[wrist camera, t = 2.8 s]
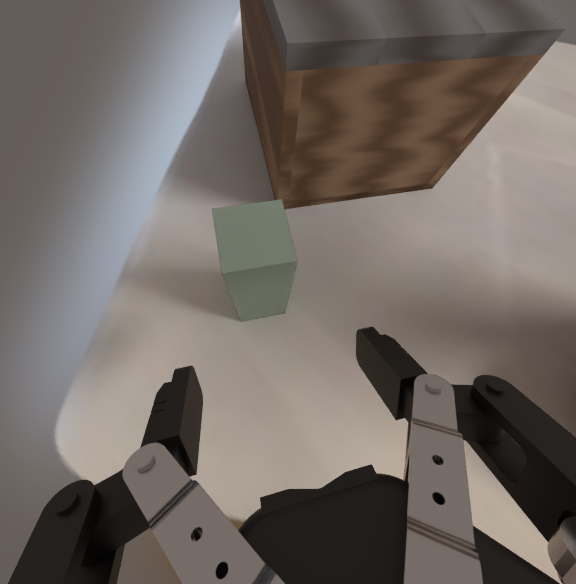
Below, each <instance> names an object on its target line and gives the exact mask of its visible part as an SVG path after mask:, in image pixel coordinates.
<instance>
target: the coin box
mask: <svg viewBox="0 0 576 584" xmlns="http://www.w3.org/2000/svg"><path fill="white" fill-rule="evenodd" d="M240 8H241V22H242V36H243V51H244V65H245V79H246V84H247V88H248V92H249V96H250V101H251V105H252V109H253V113H254V117H255V121H256V125H257V129H258V133H259V137H260V141H261V145H262V149H263V153H264V157H265V161H266V165H267V169H268V174H269V178H270V182H271V186H272V190H273V194H274V198H275V200H280V199H282V202H283V206H284V209H288V208H296V207H303V206H310V205H317V204H324V203H331V202H338V201H345V200H352V199H359V198H366V197H373V196H381V195H388V194H395V193H402V192H409V191H416V190H423V189H430V188H433V187H434V186H435V184H436V183H437V182H438V181H439V180H440V178H441V177H442V176H443V175H444V174H445V173H446V171H447V170H448V169H449V168H450V167H451V165H452V164H453V163H454V162H455V161H456V159H457V158H458V157H459V156H460V155H461V153H462V152H463V151H464V150H465V149H466V147H467V146H468V145H469V144H470V143H471V141H472V140H473V139H474V138H475V137H476V135H477V134H478V133H479V132H480V131H481V129H482V128H483V127H484V126H485V125H486V124H487V122H488V121H489V120H490V119H491V118H492V116H493V115H494V114H495V113H496V112H497V110H498V109H499V108H500V107H501V106H502V104H503V103H504V102H505V101H506V100H507V98H508V97H509V96H510V95H511V94H512V92H513V91H514V90H515V89H516V88H517V86H518V85H519V84H520V83H521V82H522V80H523V79H524V78H525V77H526V76H527V74H528V73H529V72H530V71H531V70H532V69H533V67H534V66H535V65H536V64H537V63H538V61H539V60H540V59H541V58H542V57H543V55H544V54H545V53H546V52H547V51H548V49H549V48H550V47H551V46H552V45H553V43H554V42H555V41H556V40H557V38H558V37H559V36H560V35H561V34H562V33H563V31H564V30H565V28H564V27H563V25H562V24H561V23H560V22H559V21H558V20H557V18H556V17H555V16H554V15H553V14H552V13H551V11H550V10H549V9H548V8H547V7H546V6H545V5H544V4H543V2H542V1H541V0H240Z"/></svg>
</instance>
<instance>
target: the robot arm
mask: <svg viewBox="0 0 576 584" xmlns="http://www.w3.org/2000/svg"><path fill="white" fill-rule="evenodd" d="M356 357H357V361H358V364H359V366H360V367H361V369H362V370H363V372H364V373H365V375H366V376H367V378H368V379H369V381H370V382H371V384H372V385H373V387H374V388H375V390H376V391H377V393H378V394H379V396H380V397H381V399H382V400H383V402H384V403H385V405H386V406H387V407H388V409H389V410H390V412H391V413H392V415H393V416H394V418H395V419H396V420H399V419H402V418H405V419H406V420H407V421H408V430H407V443H406V456H405V468H404V477H403V480H402V479H399V478H397V477H394V476H390V475H386V474H376V472H375V470H374V468H373V466H372V464H371V465H368V466H364V467H361V468H358V469H354V470H351V471H348V472H345V473H344V474H342V475H341V476H339V477H338V478H336V479H335V480H333V481H331V482H330V483H328V484H327V485H325V486H324V487H322V488H320V489H287V490H284V491H281V492H277V493H274V494H271V495H267V496H264V497H261V498H260V501H261V508H260V509H259V510H257V511H256V512H255V513H253V514H252V515H251V516H250V517H249V518H248V519H247V520H246V521H245V522H244V523H243V525H242V526H241V527H240V528H239V530H237V529H236V528H235V527H234V525H233V524H232V523H231V522H230V521H229V519H228V518H227V517H226V516H225V515H224V513H223V512H222V511H221V510H220V509H219V507H218V506H217V505H216V504H215V502H214V501H213V500H212V499H211V498H210V496H209V495H208V494H207V493H206V492H205V490H204V489H203V488H202V487H201V486H200V484H199V483H198V482H197V481H195V480H194V481H193V480H192V479H191V478H190V477H189V476H193V475H196V474H197V463H198V452H199V441H200V430H201V419H202V408H203V395H202V390H201V387H200V384H199V381H198V378H197V375H196V372H195V369H194V367H193V366H187V367H183V368H178V369H175V370H174V374H173V378H172V382H168V383H164V384H163V386H162V387H161V388H160V390H159V391H158V392H157V394H156V397H155V400H154V405H153V407H152V411H151V414H150V417H149V421H148V424H147V427H146V431H145V434H144V438H143V441H142V444H141V447H140V449H138V450H137V451H136V452H134V453H133V454H132V455H131V456H130V458H129V459H128V460H127V462H126V464H125V466H124V469H122V470H121V471H119V472H118V473H116V474H114V475H112V476H111V477H109V478H107V479H105V480H103V481H101V482H100V483H98V484H96V485H93V483H92V482H91V481H89V480H79V481H76V482H74V483H71V484H70V485H67V486H66V487H64V488H63V489H62V490H60V491H59V492H58V493H57V494H56V495H55V496H54V497H53V498H52V499H51V500H50V501H49V502H48V504H47V505H46V506H45V508H44V509H43V511H42V513H41V515H40V518H39V520H38V522H37V524H36V526H35V528H34V530H33V532H32V534H31V536H30V539H29V541H28V543H27V545H26V547H25V549H24V551H23V553H22V555H21V557H20V559H19V562H18V564H17V566H16V568H15V570H14V572H13V574H12V577H11V578H10V581H9V583H8V584H117V579H118V575H119V570H120V566H121V561H122V556H123V551H124V546H125V544H126V543H127V542H129V541H130V540H132V539H133V538H135V537H136V536H138V535H139V534H141V533H142V532H144V531H145V530H147V529H149V528H151V530H152V532H153V533H154V535H155V537H156V538H157V540H158V542H159V544H160V545H161V547H162V549H163V551H164V553H165V554H166V556H167V558H168V560H169V561H170V563H171V565H172V567H173V568H174V570H175V572H176V574H177V575H178V577H179V579H180V580H181V582H182V584H560V583H558V582H557V581H555V580H554V579H553V578H551V577H550V576H548V575H546V574H545V573H543V572H542V571H540V570H539V569H537V568H536V567H534V566H533V565H531V564H530V563H528V562H527V561H525V560H524V559H522V558H521V557H519V556H518V555H516V554H515V553H513V552H512V551H510V550H509V549H507V548H506V547H504V546H503V545H501V544H500V543H498V542H497V541H495V540H494V539H492V538H491V537H489V536H488V535H486V534H485V533H483V532H482V531H480V530H479V529H477V528H476V527H474V526H473V524H472V515H471V506H470V497H469V488H468V479H467V470H466V461H465V452H464V443H463V440H466V441H467V442H468V443H469V445H470V446H471V447H472V448H473V450H474V451H475V452H476V453H477V454H478V456H479V457H480V458H481V459H482V461H483V462H484V463H485V464H486V466H487V467H488V468H489V469H490V471H491V472H492V473H493V474H494V476H495V477H496V478H497V479H498V481H499V482H500V483H501V484H502V486H503V487H504V488H505V489H506V491H507V492H508V493H509V494H510V495H511V497H512V498H513V499H514V500H515V502H516V503H517V504H518V505H519V507H520V508H521V509H522V510H523V512H524V513H525V514H526V515H527V517H528V518H529V519H530V520H531V522H532V523H533V524H534V525H535V527H536V528H537V529H538V530H539V532H540V533H541V534H542V535H543V536H544V538H545V539H546V540H547V541H548V554H549V557H550V560H551V562H552V564H553V566H554V567H555V569H556V570H557V574H558V577H559V579H560V580H561V582H562V583H563V584H576V438H575V437H574V436H573V435H572V434H571V433H569V432H568V431H567V430H566V429H565V428H563V427H562V426H561V425H560V424H559V423H557V422H556V421H555V420H554V419H552V418H551V417H550V416H549V415H548V414H546V413H545V412H544V411H543V410H542V409H540V408H539V407H538V406H537V405H535V404H534V403H533V402H532V401H531V400H529V399H528V398H527V397H526V396H525V395H523V394H522V393H521V392H520V391H519V390H517V389H516V388H515V387H514V386H512V385H511V384H510V383H508V382H507V381H505V380H503V379H501V378H498V377H495V376H490V375H481V376H478V377H476V378H475V380H474V382H473V385H451V384H450V383H449V382H448V381H447V380H445V379H444V378H442V377H440V376H437V375H433V374H428V373H427V372H426V371H425V370H424V369H423V368H422V367H421V366H420V365H419V364H418V363H417V362H416V361H415V360H414V359H413V358H412V357H411V356H410V355H409V354H408V353H407V352H406V351H405V350H404V349H403V348H401V346H400V345H399V344H398V342H397V341H396V340H395V339H393V338H391V337H389V336H387V335H385V334H384V335H380V334H379V333H378V332H377V331H376V329H375V328H374V327H368V328H363V329H359V330H357V333H356ZM512 439H513V440H514V441H515V442H516V443H517V444H518V445H519V446H520V447H521V448H522V449H521V448H520V447H519V446H518V445H517V444H516V443H515V442H514V441H513V440H512Z"/></svg>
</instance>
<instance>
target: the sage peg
mask: <svg viewBox="0 0 576 584" xmlns="http://www.w3.org/2000/svg"><path fill="white" fill-rule="evenodd" d="M212 213H213V219H214V226H215V232H216V238H217V245H218V251H219V258H220V264H221V271H222V275H223V277H224V280H225V282H226V285H227V287H228V290H229V292H230V295H231V297H232V300H233V302H234V305H235V307H236V310H237V312H238V315H239V317H240V320H241V322H243V321H248V320H253V319H258V318H263V317H268V316H273V315H278V314H283V313H285V310H286V306H287V302H288V298H289V294H290V290H291V286H292V282H293V278H294V273H295V269H296V265H297V261H298V260H297V256H296V252H295V248H294V245H293V241H292V237H291V233H290V229H289V225H288V221H287V217H286V213H285V210H284V206H283V202H282V199H280V200H272V201H265V202H258V203H250V204H243V205H235V206H228V207H221V208H213V209H212Z"/></svg>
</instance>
